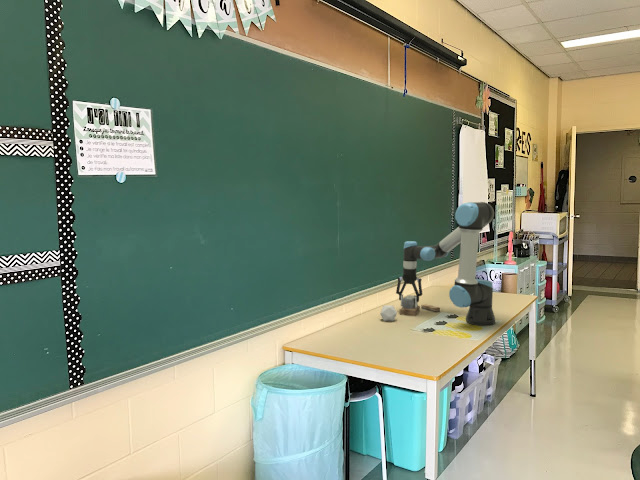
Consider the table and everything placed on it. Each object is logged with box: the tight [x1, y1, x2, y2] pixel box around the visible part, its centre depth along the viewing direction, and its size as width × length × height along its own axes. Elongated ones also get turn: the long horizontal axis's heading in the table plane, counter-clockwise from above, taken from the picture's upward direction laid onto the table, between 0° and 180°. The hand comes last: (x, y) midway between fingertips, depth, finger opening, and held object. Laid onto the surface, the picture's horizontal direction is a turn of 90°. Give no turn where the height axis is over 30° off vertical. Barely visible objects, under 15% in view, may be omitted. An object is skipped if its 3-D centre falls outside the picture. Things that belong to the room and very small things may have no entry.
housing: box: [401, 294, 419, 309], centre depth 292 cm, size 6×10×6 cm, turn 152°
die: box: [380, 304, 398, 322], centre depth 276 cm, size 8×9×10 cm
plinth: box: [399, 305, 421, 317], centre depth 293 cm, size 9×13×3 cm
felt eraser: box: [420, 303, 441, 313], centre depth 299 cm, size 12×4×3 cm, turn 30°
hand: (408, 306), depth 293 cm, fingers open, 8 cm apart
